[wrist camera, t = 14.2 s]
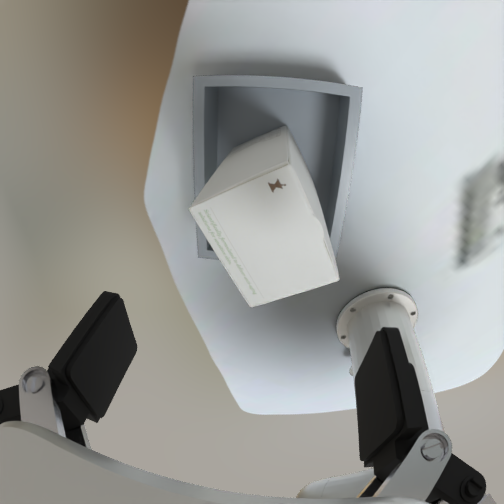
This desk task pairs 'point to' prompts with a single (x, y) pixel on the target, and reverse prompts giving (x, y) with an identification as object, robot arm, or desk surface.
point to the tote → (270, 118)
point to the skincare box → (267, 220)
